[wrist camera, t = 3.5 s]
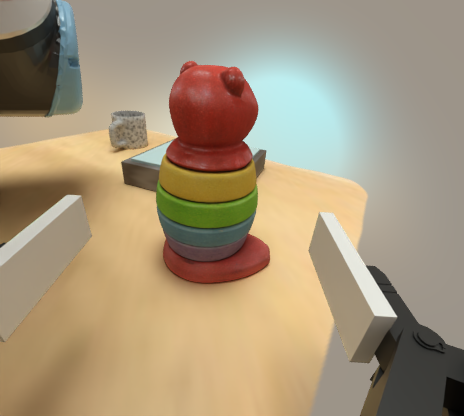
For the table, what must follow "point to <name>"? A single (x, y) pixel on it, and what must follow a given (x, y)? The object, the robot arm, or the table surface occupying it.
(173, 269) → the stacking bear
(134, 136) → the mug
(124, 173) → the plinth
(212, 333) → the table surface
